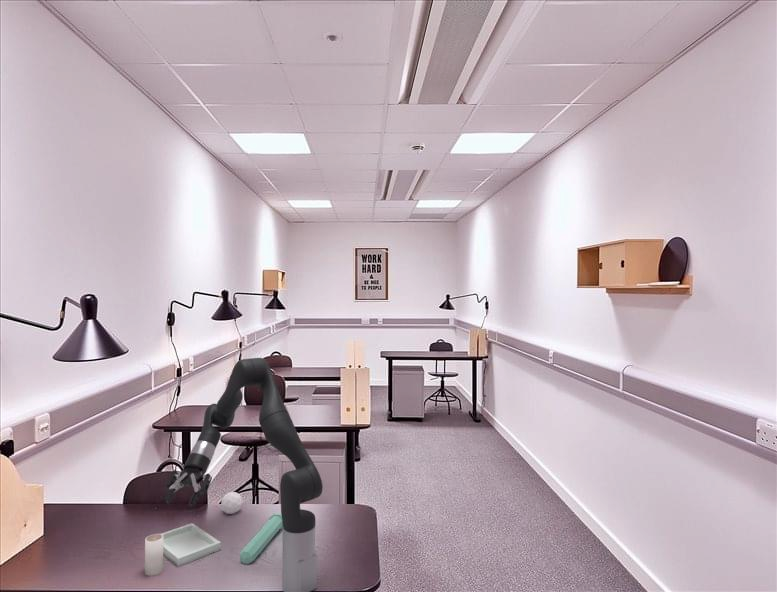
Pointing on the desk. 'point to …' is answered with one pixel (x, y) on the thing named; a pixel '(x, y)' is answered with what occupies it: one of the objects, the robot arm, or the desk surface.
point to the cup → (153, 554)
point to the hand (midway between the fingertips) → (179, 503)
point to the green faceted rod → (261, 539)
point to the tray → (188, 544)
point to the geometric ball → (231, 503)
